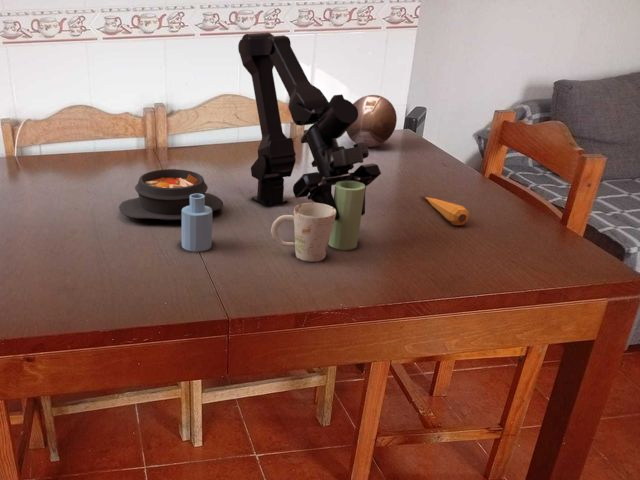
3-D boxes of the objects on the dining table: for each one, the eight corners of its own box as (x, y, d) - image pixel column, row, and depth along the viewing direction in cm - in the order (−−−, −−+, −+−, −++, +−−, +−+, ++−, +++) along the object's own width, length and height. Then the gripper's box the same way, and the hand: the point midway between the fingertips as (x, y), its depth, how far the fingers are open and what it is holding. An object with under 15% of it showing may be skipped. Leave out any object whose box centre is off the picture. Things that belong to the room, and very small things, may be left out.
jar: (322, 242, 150) (329, 183, 143) (344, 236, 153) (351, 178, 146) (341, 252, 146) (349, 191, 139) (363, 246, 148) (371, 186, 141)
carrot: (465, 230, 157) (475, 212, 156) (448, 223, 156) (459, 205, 154) (427, 208, 175) (436, 191, 173) (412, 202, 174) (421, 185, 172)
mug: (330, 265, 140) (336, 218, 135) (267, 261, 142) (270, 214, 137) (331, 249, 147) (336, 204, 142) (271, 245, 149) (274, 200, 144)
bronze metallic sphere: (343, 152, 209) (349, 100, 201) (341, 139, 221) (347, 89, 214) (394, 154, 207) (403, 101, 199) (390, 140, 219) (397, 91, 211)
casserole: (208, 195, 176) (209, 162, 172) (234, 220, 161) (236, 185, 157) (111, 205, 170) (110, 171, 166) (129, 232, 155) (127, 196, 151)
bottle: (176, 243, 150) (176, 194, 144) (201, 238, 153) (202, 189, 147) (191, 253, 145) (191, 203, 140) (216, 247, 148) (218, 197, 142)
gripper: (305, 134, 137) (332, 206, 134) (382, 124, 143) (409, 192, 141) (281, 163, 147) (305, 230, 144) (354, 152, 154) (378, 216, 151)
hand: (350, 217), depth 145 cm, fingers closed on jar, 6 cm apart
